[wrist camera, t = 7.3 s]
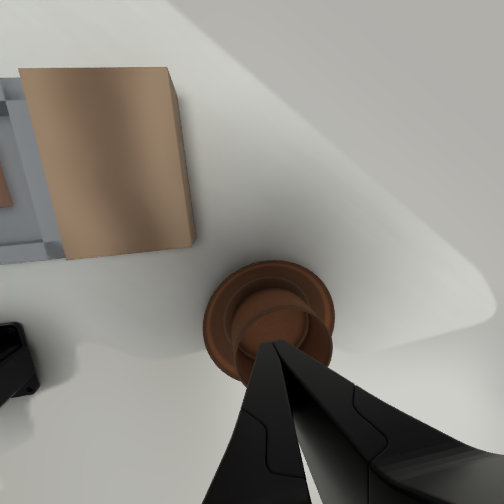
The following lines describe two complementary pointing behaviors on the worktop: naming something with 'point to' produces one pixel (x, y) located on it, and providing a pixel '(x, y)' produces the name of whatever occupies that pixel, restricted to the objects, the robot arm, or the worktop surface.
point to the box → (24, 185)
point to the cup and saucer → (267, 315)
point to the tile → (4, 191)
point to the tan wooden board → (112, 158)
